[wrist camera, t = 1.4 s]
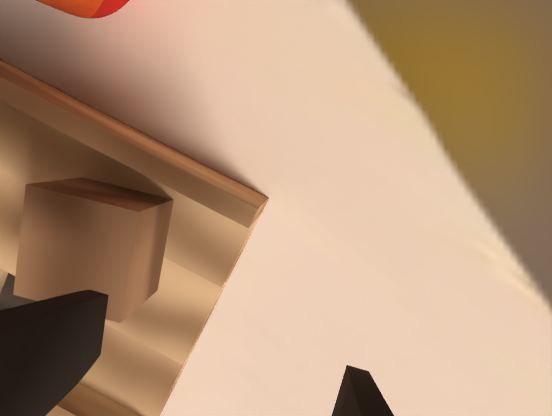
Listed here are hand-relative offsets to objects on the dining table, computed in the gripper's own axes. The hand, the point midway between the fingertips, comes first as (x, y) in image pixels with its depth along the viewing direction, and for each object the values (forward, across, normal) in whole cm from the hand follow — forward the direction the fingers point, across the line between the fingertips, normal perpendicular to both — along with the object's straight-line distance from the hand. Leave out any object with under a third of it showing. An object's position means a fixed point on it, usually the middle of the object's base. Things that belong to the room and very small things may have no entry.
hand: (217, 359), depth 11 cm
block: (+9, +8, +1) cm, 12 cm away
